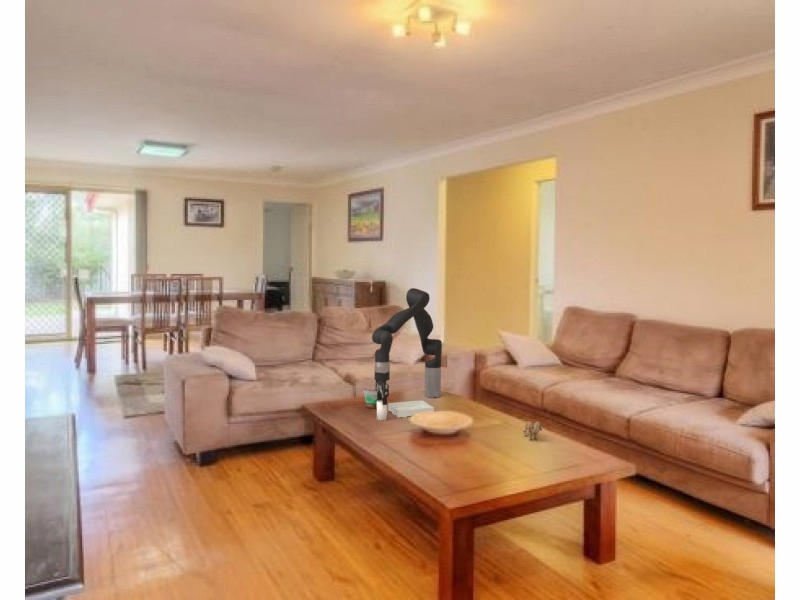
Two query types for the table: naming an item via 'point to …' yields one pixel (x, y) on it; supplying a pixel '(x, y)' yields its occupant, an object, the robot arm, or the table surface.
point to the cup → (381, 410)
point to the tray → (409, 408)
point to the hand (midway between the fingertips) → (382, 402)
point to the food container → (370, 399)
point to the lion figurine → (532, 429)
